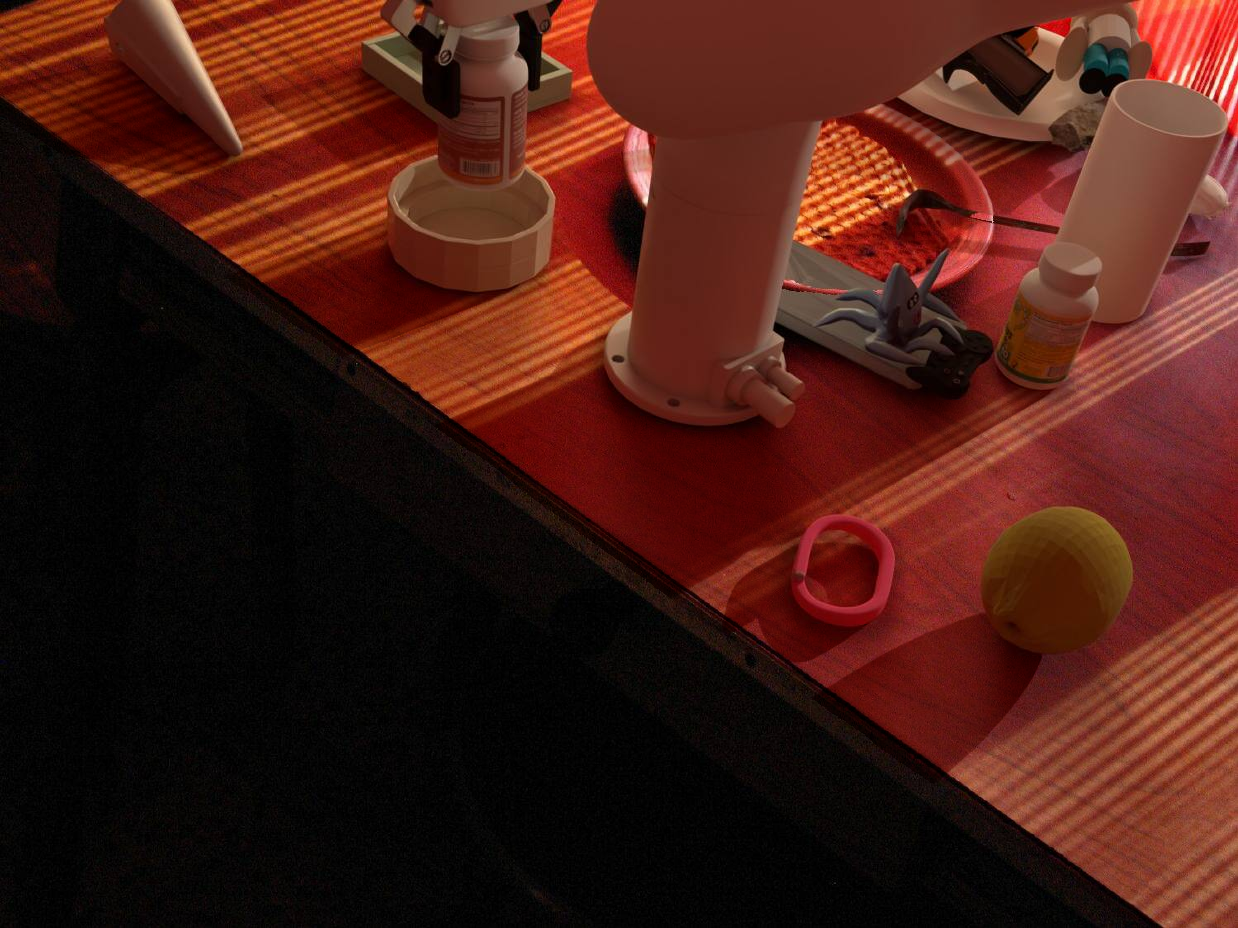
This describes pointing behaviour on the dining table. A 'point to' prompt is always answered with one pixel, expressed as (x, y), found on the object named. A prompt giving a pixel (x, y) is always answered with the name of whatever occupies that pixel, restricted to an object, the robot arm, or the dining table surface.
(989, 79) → the handgun
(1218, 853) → the dining table surface
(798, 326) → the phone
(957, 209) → the crowbar
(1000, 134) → the plate
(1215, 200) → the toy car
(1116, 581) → the lemon
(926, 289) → the figurine
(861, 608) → the fitness band
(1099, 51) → the toy
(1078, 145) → the stone
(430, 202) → the bowl
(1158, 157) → the cup
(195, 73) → the long tapered cone
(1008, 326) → the supplement bottle
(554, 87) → the tray
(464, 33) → the pill bottle
